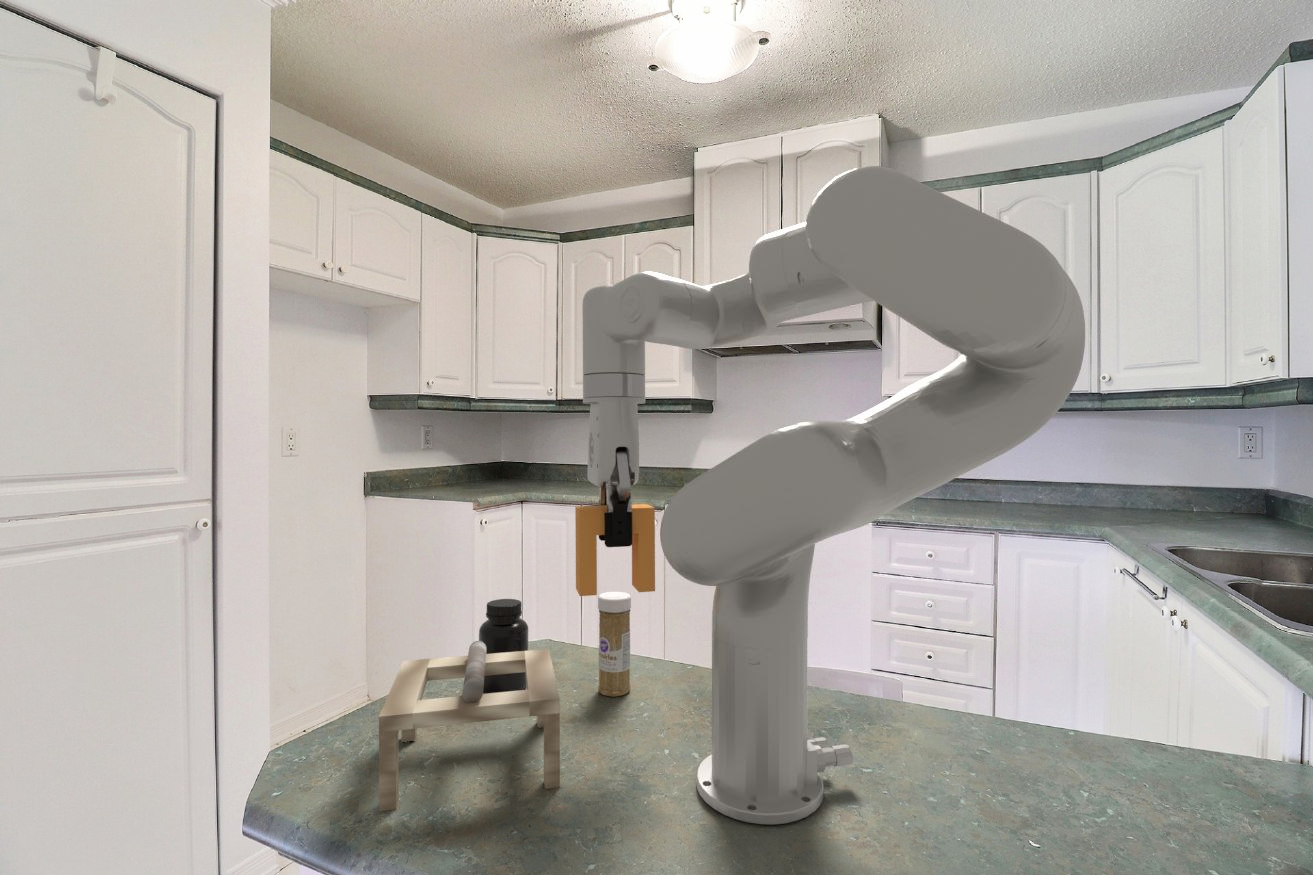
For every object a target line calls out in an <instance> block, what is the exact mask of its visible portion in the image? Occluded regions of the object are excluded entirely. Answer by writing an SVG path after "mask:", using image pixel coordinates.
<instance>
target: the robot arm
mask: <svg viewBox="0 0 1313 875" xmlns="http://www.w3.org/2000/svg"><path fill="white" fill-rule="evenodd" d="M748 261H749V262H748V272H747V273H744V274H743V275H742V274H741V275H740V276H737V277H735V278H732V279H727V280H725V281H721V282H717V283H713V284H709V285H705V286H704V285H702V286H701V285H698V284H695V283H694V282H693V283H692V282H689V281H686V280H683V279H681V278H677V277H672V276H670V275H669V276H668V275H665V274H663V273H658V272H654V271H643V272H637V273H635V274H633V275H630V276H628V277H626V278H625V279H622V280H621V281H619V282H616V283H615V284H610V285H607V284H606V285H600V286H596V287H592V288H590V289H589V290H588V291H587V290H586V293H584V296H583V299H582V404H585V405H590V409H589V417H588V418H589V420H588V422H589V423H588V441H587V442H588V444H587V446H588V448H587V449H588V451H587V452H588V453H587V474H586V475H587V476H586V477H587V480H588V482H590V483H591V484H592V485H594V486H596V487H598V489H599V495H598V496H599V497H598V498H599V500H598V506H602V505H607V513H604V520H605V535H598V539H599V540H600V541H604V545H605V548H621V547H624V548H625V547H632V512H631V511H632V505H633V504H632V503H633V502H632V487H634V486H635V485H636V484H637V483H638V481H639V477H640V476H639V475H640V435H639V434H640V433H639V432H640V431H639V414H638V413H639V412H638V410H639V409H638V405H639V404H640V405H641V404H642V405H643V404H646V342H647V343H652V344H660V345H667V346H672V347H673V346H674V347H679V348H684V349H689V350H698V349H699V350H700V349H702V350H703V349H708V348H714V347H715V348H716V347H719V346H723V345H728V344H734V343H738V342H742V341H745V340H750V339H752V338H756V337H759V336H760V335H763V334H764V333H765V334H766V332H769V331H770V330H773V329H775V328H776V327H778V326H779V325H781V324H782V323H785V322H786V321H790V320H794V319H799V318H803V317H807V316H811V315H816V314H819V313H824V312H828V311H829V312H830V311H833V310H837V309H841V308H846V307H849V306H854V305H859V304H864V303H868V302H871V301H873V302H875V303H876V304H878V305H880V306H881V307H883V308H885V309H886V310H888V311H889V312H891V313H893V314H895V315H896V316H897V317H899V318H901V319H902V320H904V321H905V322H907V323H908V324H910V325H911V326H914V327H915V328H917V330H920V331H921V332H923V333H924V334H926V335H927V336H929V337H930V338H932V339H934V340H935V341H937V342H939V343H940V344H942V345H943V346H945V347H947V348H948V349H950V350H952V351H955V352H956V353H959V354H960V355H959V357H957V358H956V360H954V361H953V362H952V363H950V364H949V365H948V366H946V367H944V368H943V369H941V370H939V371H937V372H935V373H932V374H931V375H929V376H926V377H924V378H922V379H920V380H917V381H916V382H914V383H912V384H910V385H908V386H906V387H904V388H903V389H901V390H900V391H899V392H897V393H895V394H894V395H893V396H890V397H889V398H888V399H885V400H883V401H882V402H880V403H879V404H876V405H875V406H872V407H871V408H869V409H867V410H865V411H863V412H862V413H859V414H857V415H854V416H852V417H851V418H847V419H843V420H835V421H834V420H832V421H831V420H810V421H809V420H807V421H800V422H796V423H795V422H794V423H791V424H789V425H786V426H783V427H780V428H778V429H775V430H774V431H771V432H770V433H767V434H765V435H764V436H761V437H760V438H759V439H757V440H755V441H754V442H751V443H750V444H748V445H747V446H746V447H744V448H742V449H740V450H739V451H737V452H736V453H734V454H732V455H731V456H729V457H727V458H726V459H725V460H723V461H721V462H720V463H718V464H717V465H715V466H713V467H711V468H709V469H708V470H706V471H705V472H703V473H702V474H700V475H698V476H697V477H695V478H694V479H692V480H691V481H689V482H688V483H686V484H685V485H684V486H683V487H681V488H680V489H679V490H678V491H677V492H676V493H675V494H674V495H673V496H672V497H671V499H670V501H669V503H668V504H667V505H666V508H665V510H664V512H663V515H662V519H661V523H660V529H659V538H660V545H661V550H662V553H663V555H664V556H665V559H666V561H667V563H668V564H669V565H670V566H671V568H672V569H673V570H674V571H675V572H676V573H677V574H679V576H681V577H682V578H684V579H686V580H687V581H690V582H692V583H694V584H697V585H702V586H706V587H715V590H714V595H713V601H712V610H711V754H710V755H708V756H707V757H705V758H704V759H703V760H702V761H701V762H700V764H699V765H698V767H697V769H696V778H695V779H696V780H695V781H696V782H695V783H696V789H697V791H698V794H699V796H700V797H701V798H702V800H703V801H704V802H705V803H706V804H707V805H709V806H710V807H711V808H712V809H714V810H715V811H717V812H719V813H721V814H722V815H724V816H727V817H728V818H732V819H734V820H738V821H741V822H745V823H749V824H757V825H783V824H790V823H794V822H798V821H801V820H802V819H804V818H808V817H809V816H810V815H811V814H813V813H814V812H815V811H817V809H818V808H819V807H820V806H821V804H822V802H823V800H824V780H823V779H822V776H821V774H820V773H823V772H825V770H826V768H830V767H834V768H836V767H842V766H849V765H852V764H853V760H854V759H853V758H854V757H853V754H852V753H853V752H852V750H851V747H850V746H849V745H848V744H846V743H844V744H837V745H836V744H835V745H829V743H828V740H827V738H826V737H825V736H821V737H813V738H810V739H809V738H808V637H809V636H808V635H809V634H808V633H809V630H808V629H809V626H808V625H809V624H808V623H809V622H808V620H809V592H810V582H811V581H810V580H811V573H812V568H813V560H814V553H815V548H816V544H818V543H819V542H822V541H824V540H827V539H829V538H831V537H834V536H837V535H840V534H844V533H846V532H849V531H853V530H856V529H859V528H862V527H864V526H867V525H869V524H871V523H873V522H874V521H876V520H878V519H880V518H882V517H883V516H884V515H886V514H887V513H889V512H890V511H893V510H895V509H896V508H898V507H900V506H901V505H905V503H907V502H910V501H911V500H914V499H917V497H920V496H923V495H925V494H927V493H928V492H931V491H932V490H935V489H937V488H940V487H941V486H943V485H946V484H947V483H949V482H951V481H953V480H954V479H956V478H959V477H960V476H963V475H964V474H966V473H969V472H970V471H972V470H974V469H976V468H979V467H980V466H982V465H985V464H986V463H988V462H991V461H992V460H994V459H996V458H998V457H1000V456H1002V455H1004V454H1005V453H1008V452H1009V451H1011V450H1012V449H1014V448H1016V447H1017V446H1019V445H1021V444H1022V443H1024V442H1025V441H1026V440H1028V439H1030V437H1032V436H1033V435H1034V434H1036V433H1037V432H1038V431H1039V430H1040V429H1042V428H1043V427H1044V426H1046V424H1047V423H1048V422H1049V421H1050V420H1051V419H1052V418H1053V417H1054V416H1055V415H1056V413H1057V412H1058V411H1059V410H1060V409H1061V407H1062V406H1063V405H1064V404H1065V402H1066V400H1068V398H1069V396H1070V394H1071V393H1072V391H1073V388H1074V386H1075V385H1076V382H1077V380H1078V378H1079V375H1080V374H1081V369H1082V365H1083V361H1084V354H1085V349H1086V348H1085V347H1086V346H1085V345H1086V322H1085V312H1084V306H1083V303H1082V299H1081V296H1080V294H1079V292H1078V290H1077V287H1076V286H1075V284H1074V283H1073V281H1072V279H1071V277H1070V276H1069V275H1068V273H1067V272H1066V271H1065V270H1064V268H1063V267H1062V265H1061V264H1060V262H1059V261H1058V259H1057V258H1056V257H1055V255H1054V254H1053V253H1052V252H1050V250H1049V249H1048V248H1046V246H1045V245H1044V244H1043V243H1042V242H1040V241H1039V240H1037V239H1036V238H1034V237H1033V236H1031V235H1030V234H1027V233H1026V232H1025V231H1022V230H1020V229H1019V228H1016V227H1015V226H1013V225H1010V224H1008V223H1006V222H1004V221H1002V220H1000V219H997V217H996V218H995V217H993V216H991V215H989V214H987V213H985V212H983V211H981V210H979V209H976V208H974V207H972V206H970V205H968V204H966V203H963V202H961V201H960V200H958V199H955V198H953V197H952V196H949V195H947V194H945V193H943V192H940V191H939V190H936V189H934V188H932V187H930V186H929V185H926V184H924V183H923V182H921V181H919V180H916V179H914V178H912V177H911V176H909V175H907V174H905V173H903V172H900V171H899V170H897V169H894V168H890V167H885V166H881V165H867V166H861V167H856V168H852V169H851V170H848V171H845V172H843V173H841V174H839V175H837V176H835V177H834V178H833V179H831V181H829V182H828V183H827V184H826V185H824V186H823V188H822V189H821V190H820V191H819V192H818V193H817V195H816V196H815V198H814V199H813V201H812V203H811V205H810V208H809V210H808V213H807V215H806V221H805V222H802V223H799V224H796V225H791V226H789V227H786V228H782V229H779V230H776V231H774V232H771V233H768V234H765V235H763V236H762V237H760V238H759V239H757V240H756V242H755V244H754V245H753V247H752V249H751V251H750V254H749V260H748Z"/></svg>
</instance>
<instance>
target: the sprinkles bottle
mask: <svg viewBox="0 0 1313 875" xmlns="http://www.w3.org/2000/svg"><path fill="white" fill-rule="evenodd" d="M597 598H598V600H597V608H598V613H599V622H598V623H599V628H598V630H599V632H598V634H599V635H598V637H599V640H598V641H599V642H598V643H599V645H598V687H597V690H598V692H599V693H600V694H602V695H603V696H606V697H613V698H615V697H622V696H623V695H624V696H625V694H626V695H627V693H628V692H630V690H631V683H630V680H631V679H630V677H631V676H630V674H631V673H630V668H631V626H630V625H631V622H630V621H631V620H630V618H631V617H630V614H631V613H630V612H631V608H632V596H631V594H629V593H628V592H624V591H606V592H603V593H600V594H599V595H598V597H597Z"/></svg>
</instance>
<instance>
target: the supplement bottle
mask: <svg viewBox="0 0 1313 875" xmlns="http://www.w3.org/2000/svg"><path fill="white" fill-rule="evenodd" d="M522 615H523V611H522V601H521V600H519V599H515V598H500V599H499V598H498V599H494V600H490V601H488V602H487V603H486V613H485V617H486V618H487V620H486V621H484V622H483V623H482V624H481V626H480V627H479V629H478V641H482V642H483V643H485V645H486V654H493V653H505V652H517V651H529V625H528V623H527V622H526V621H525V620H524V619H523V618H521V617H522ZM525 688H527V684H526V674H525V672H520V673H509V674H498V675H487V676H484V687H483V694H488V693H499V692H509V691H519V690H525Z"/></svg>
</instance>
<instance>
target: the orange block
mask: <svg viewBox="0 0 1313 875" xmlns="http://www.w3.org/2000/svg"><path fill="white" fill-rule="evenodd" d="M574 509H575V512H574V513H575V517H574V518H575V590H576V592H577V593H578V596H579V597H589V596H591V597H592V596H598V580H597V579H598V572H597V571H598V567H597V566H598V565H597V564H598V563H597V560H598V559H597V556H598V555H597V554H598V552H597V551H598V550H597V549H598V548H597V546H598V541H597V540H598V539H597V536H599V535H605V520H604V513H607V505H602V506H599V505H583V506H582V505H580V506H579V505H576V506H575V508H574ZM655 509H656V507H654V506H652V505H650V504H648V503H641V504H639V503H638V504H636V503H635V504H632V511H631V512H632V545H631V585H632V587H633V588H634V589H635V590H636V591H637V592H638V593H649V592H651V593H653V592H656V523H655V522H656V516H655V514H656V512H655Z"/></svg>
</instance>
